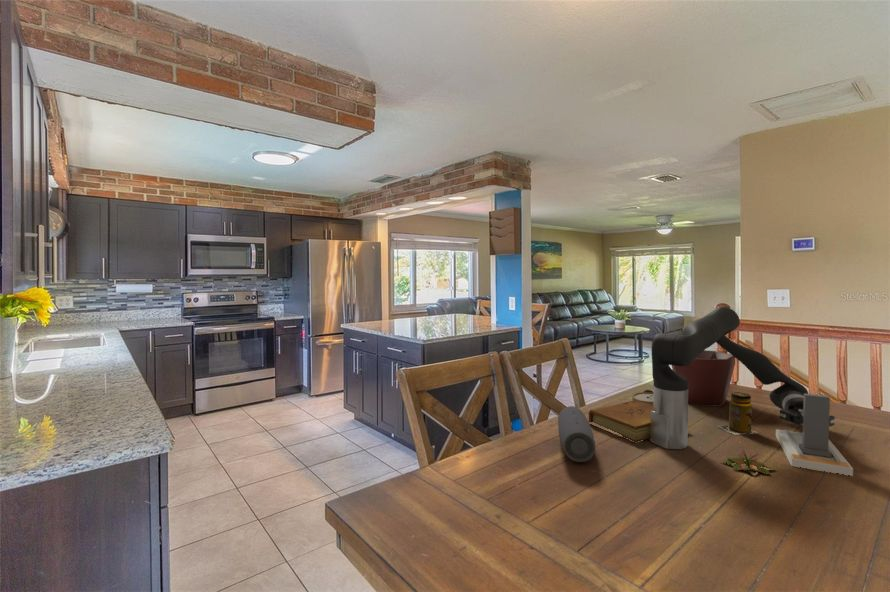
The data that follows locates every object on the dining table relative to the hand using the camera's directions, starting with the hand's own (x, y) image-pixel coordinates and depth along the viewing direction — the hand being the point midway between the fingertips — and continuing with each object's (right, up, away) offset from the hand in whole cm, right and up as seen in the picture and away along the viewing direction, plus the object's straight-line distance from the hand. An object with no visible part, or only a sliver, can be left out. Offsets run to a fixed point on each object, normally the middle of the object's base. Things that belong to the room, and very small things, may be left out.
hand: (814, 427), depth 115 cm
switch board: (+2, -9, +4) cm, 10 cm away
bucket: (+3, -6, +55) cm, 56 cm away
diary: (-37, -9, +27) cm, 47 cm away
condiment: (-6, -8, +22) cm, 24 cm away
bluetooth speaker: (-62, -10, +9) cm, 64 cm away
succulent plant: (-21, -10, -3) cm, 23 cm away
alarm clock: (-20, -7, +51) cm, 55 cm away
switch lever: (0, -7, -1) cm, 7 cm away
